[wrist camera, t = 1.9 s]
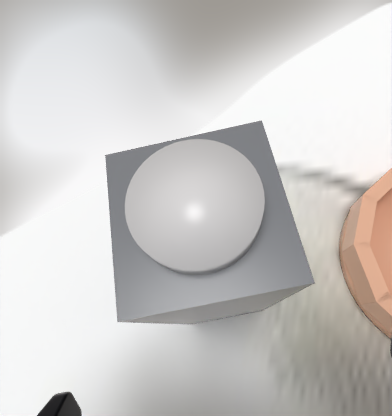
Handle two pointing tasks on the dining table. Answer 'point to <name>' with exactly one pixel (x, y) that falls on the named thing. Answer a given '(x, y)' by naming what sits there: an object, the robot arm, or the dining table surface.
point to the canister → (202, 229)
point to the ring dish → (370, 253)
